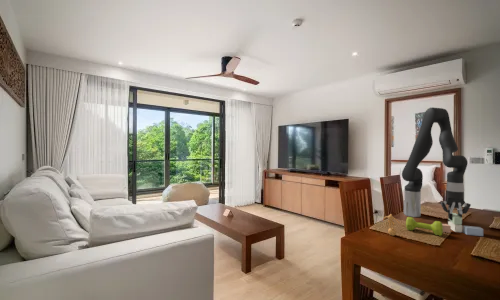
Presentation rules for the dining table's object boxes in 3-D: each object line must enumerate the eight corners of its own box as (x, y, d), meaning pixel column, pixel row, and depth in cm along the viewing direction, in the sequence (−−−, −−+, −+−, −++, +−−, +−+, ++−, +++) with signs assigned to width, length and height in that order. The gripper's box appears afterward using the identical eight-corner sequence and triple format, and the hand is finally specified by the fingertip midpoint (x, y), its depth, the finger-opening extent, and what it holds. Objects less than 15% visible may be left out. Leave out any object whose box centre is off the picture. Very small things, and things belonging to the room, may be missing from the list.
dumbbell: (442, 233, 126) (442, 220, 126) (442, 238, 120) (442, 224, 120) (406, 227, 137) (406, 215, 137) (405, 231, 131) (405, 218, 131)
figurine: (402, 236, 122) (402, 214, 122) (398, 239, 118) (398, 216, 118) (385, 232, 128) (385, 211, 128) (381, 234, 125) (381, 213, 124)
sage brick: (454, 224, 129) (454, 217, 128) (448, 219, 135) (448, 212, 135) (461, 224, 127) (462, 217, 127) (455, 219, 134) (456, 213, 134)
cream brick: (455, 232, 128) (455, 225, 128) (448, 227, 135) (448, 221, 135) (462, 232, 127) (462, 225, 127) (455, 228, 134) (455, 221, 134)
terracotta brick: (435, 231, 129) (435, 224, 129) (432, 229, 132) (432, 222, 132) (450, 233, 127) (450, 226, 127) (447, 231, 130) (447, 224, 130)
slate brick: (466, 234, 124) (466, 227, 124) (463, 232, 127) (463, 225, 127) (483, 236, 122) (483, 229, 122) (479, 234, 125) (479, 227, 125)
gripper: (467, 189, 132) (467, 219, 132) (437, 188, 137) (437, 217, 137) (474, 192, 125) (474, 223, 125) (442, 190, 130) (442, 220, 130)
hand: (455, 219), depth 131 cm, fingers closed on sage brick, 3 cm apart
